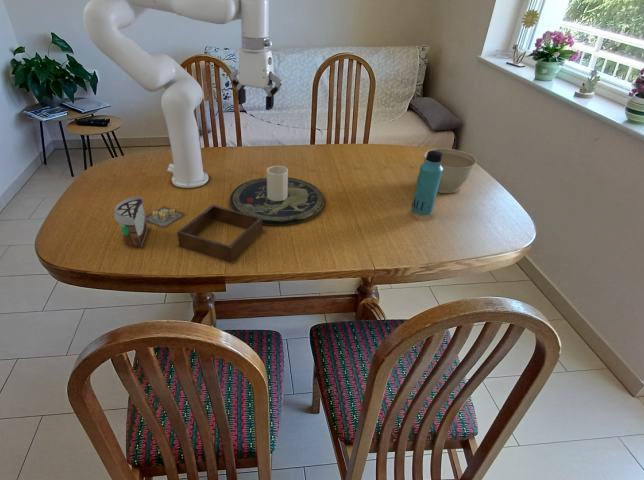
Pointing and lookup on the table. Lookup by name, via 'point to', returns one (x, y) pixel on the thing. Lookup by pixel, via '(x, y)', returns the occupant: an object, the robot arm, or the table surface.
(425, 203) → the beverage bottle
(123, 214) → the food container
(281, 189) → the cup
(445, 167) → the planter bowl
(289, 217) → the decorative plate
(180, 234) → the wooden box
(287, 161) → the table surface
